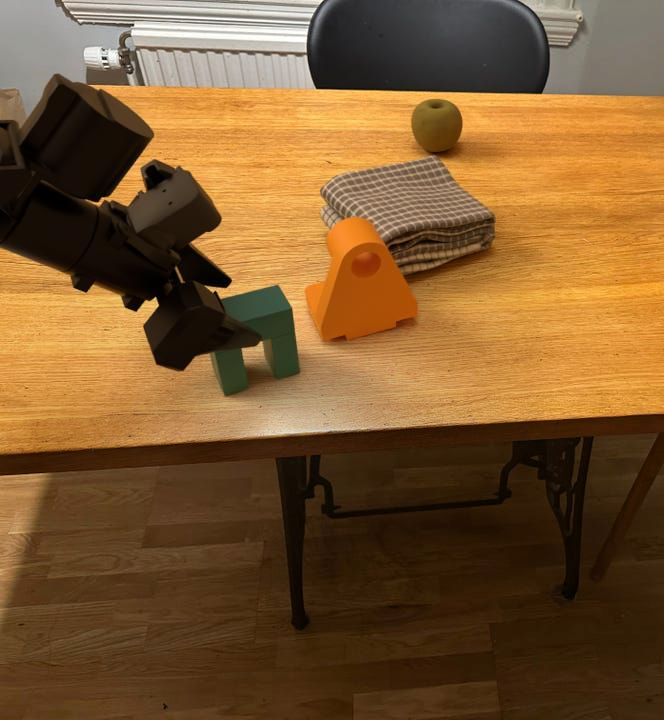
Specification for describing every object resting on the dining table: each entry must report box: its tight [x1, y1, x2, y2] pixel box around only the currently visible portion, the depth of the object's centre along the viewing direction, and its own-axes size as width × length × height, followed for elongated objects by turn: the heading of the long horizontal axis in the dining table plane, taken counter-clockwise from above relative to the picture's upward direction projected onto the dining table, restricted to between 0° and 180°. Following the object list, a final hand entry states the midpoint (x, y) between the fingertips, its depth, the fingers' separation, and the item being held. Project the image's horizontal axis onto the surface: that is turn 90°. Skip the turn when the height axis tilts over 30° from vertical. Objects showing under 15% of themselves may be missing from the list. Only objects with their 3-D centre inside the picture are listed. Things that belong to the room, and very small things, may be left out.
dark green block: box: [208, 284, 301, 397], centre depth 67 cm, size 8×4×8 cm, turn 121°
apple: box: [410, 98, 464, 153], centre depth 106 cm, size 8×8×7 cm
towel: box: [319, 155, 497, 277], centre depth 86 cm, size 15×18×8 cm
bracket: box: [304, 217, 419, 342], centre depth 74 cm, size 11×7×12 cm, turn 115°
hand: (243, 311), depth 65 cm, fingers open, 9 cm apart
